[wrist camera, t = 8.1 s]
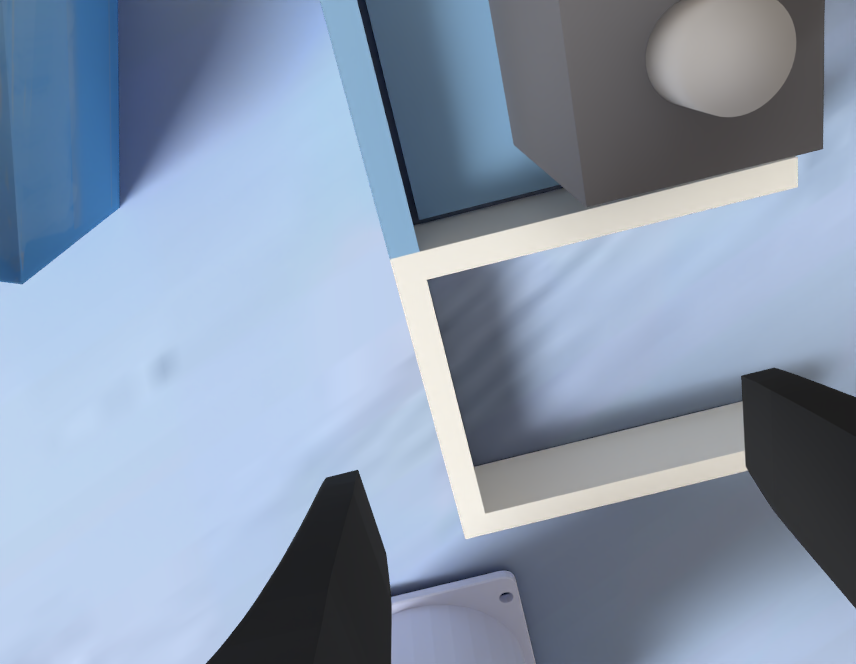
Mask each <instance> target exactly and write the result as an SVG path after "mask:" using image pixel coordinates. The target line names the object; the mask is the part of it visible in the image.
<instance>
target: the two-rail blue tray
mask: <svg viewBox="0 0 856 664" xmlns="http://www.w3.org/2000/svg"><path fill="white" fill-rule="evenodd" d="M365 1H366V5H367V9H368V14H369V18H370V22H371V26H372V30H373V34H374V38H375V42H376V46H377V50H378V54H379V58H380V62H381V67H382V71H383V75H384V79H385V83H386V87H387V91H388V95H389V99H390V103H391V107H392V111H393V116H394V120H395V124H396V128H397V132H398V136H399V140H400V144H401V148H402V152H403V156H404V160H405V164H406V169H407V173H408V177H409V181H410V185H411V189H412V193H413V197H414V201H415V205H416V209H417V213H418V217H419V220H422V219H426V218H430V217H434V216H438V215H442V214H446V213H450V212H454V211H458V210H462V209H466V208H469V207H473V206H477V205H481V204H485V203H489V202H493V201H497V200H501V199H505V198H509V197H513V196H517V195H521V194H525V193H529V192H533V191H537V190H541V189H545V188H549V187H553V186H557V185H560V184H559V183H557V182H556V181H555V180H554V179H553V178H552V177H551V176H549V175H548V174H547V173H546V172H545V171H544V170H542V169H541V168H540V167H539V166H538V165H537V164H535V163H534V162H533V161H532V160H531V159H530V158H528V157H527V156H526V155H525V154H524V153H523V152H521V151H520V150H519V149H518V148H517V147H516V146H514V144H513V139H512V133H511V127H510V121H509V116H508V110H507V104H506V98H505V93H504V87H503V81H502V76H501V70H500V64H499V58H498V53H497V47H496V41H495V35H494V30H493V24H492V18H491V12H490V7H489V1H488V0H365ZM320 3H321V6H322V10H323V14H324V17H325V21H326V25H327V29H328V32H329V36H330V40H331V43H332V47H333V51H334V54H335V58H336V62H337V66H338V69H339V73H340V77H341V80H342V84H343V88H344V91H345V95H346V99H347V103H348V106H349V110H350V114H351V117H352V121H353V125H354V128H355V132H356V136H357V140H358V143H359V147H360V151H361V154H362V158H363V162H364V166H365V169H366V173H367V177H368V180H369V184H370V188H371V191H372V195H373V199H374V203H375V206H376V210H377V214H378V217H379V221H380V225H381V228H382V232H383V236H384V240H385V243H386V247H387V251H388V254H389V258H390V262H391V265H392V269H393V273H394V277H395V280H396V284H397V288H398V291H399V295H400V299H401V302H402V306H403V310H404V314H405V317H406V321H407V325H408V328H409V332H410V336H411V339H412V343H413V347H414V351H415V354H416V358H417V362H418V365H419V369H420V373H421V376H422V380H423V384H424V388H425V391H426V395H427V399H428V402H429V406H430V410H431V413H432V417H433V421H434V425H435V428H436V432H437V436H438V439H439V443H440V447H441V451H442V454H443V458H444V462H445V465H446V469H447V473H448V476H449V480H450V484H451V488H452V491H453V495H454V499H455V502H456V506H457V510H458V513H459V517H460V521H461V525H462V528H463V532H464V536H465V539H469V538H473V537H477V536H481V535H485V534H489V533H493V532H497V531H502V530H506V529H510V528H514V527H518V526H522V525H526V524H530V523H535V522H539V521H543V520H547V519H551V518H555V517H559V516H563V515H567V514H572V513H576V512H580V511H584V510H588V509H592V508H596V507H600V506H605V505H609V504H613V503H617V502H621V501H625V500H629V499H633V498H637V497H642V496H646V495H650V494H654V493H658V492H662V491H666V490H670V489H675V488H679V487H683V486H687V485H691V484H695V483H699V482H703V481H708V480H712V479H716V478H720V477H724V476H728V475H732V474H736V473H740V472H745V471H748V469H747V468H746V464H745V443H744V422H743V401H741V402H737V403H733V404H729V405H725V406H721V407H717V408H713V409H708V410H704V411H700V412H696V413H692V414H688V415H684V416H680V417H676V418H672V419H668V420H663V421H659V422H655V423H651V424H647V425H643V426H639V427H635V428H631V429H627V430H623V431H618V432H614V433H610V434H606V435H602V436H598V437H594V438H590V439H586V440H582V441H578V442H574V443H569V444H565V445H561V446H557V447H553V448H549V449H545V450H541V451H537V452H533V453H529V454H524V455H520V456H516V457H512V458H508V459H504V460H500V461H496V462H492V463H488V464H484V465H480V466H475V467H474V466H473V462H472V458H471V454H470V450H469V446H468V442H467V438H466V434H465V430H464V426H463V422H462V418H461V414H460V410H459V406H458V402H457V398H456V394H455V390H454V386H453V382H452V378H451V374H450V370H449V366H448V362H447V358H446V354H445V350H444V346H443V342H442V338H441V334H440V330H439V326H438V322H437V318H436V314H435V310H434V306H433V302H432V298H431V294H430V290H429V286H428V282H427V280H428V279H432V278H436V277H440V276H444V275H448V274H452V273H456V272H460V271H464V270H468V269H472V268H476V267H480V266H484V265H488V264H492V263H496V262H500V261H504V260H508V259H512V258H516V257H520V256H524V255H528V254H532V253H536V252H540V251H544V250H548V249H552V248H556V247H560V246H564V245H568V244H572V243H576V242H580V241H584V240H588V239H592V238H596V237H600V236H604V235H608V234H612V233H616V232H620V231H624V230H628V229H632V228H636V227H640V226H644V225H648V224H652V223H656V222H660V221H664V220H668V219H672V218H676V217H680V216H684V215H688V214H692V213H696V212H700V211H704V210H708V209H712V208H716V207H720V206H724V205H728V204H732V203H736V202H740V201H744V200H748V199H752V198H756V197H760V196H764V195H768V194H772V193H776V192H780V191H784V190H788V189H792V188H796V187H798V157H796V156H793V157H789V158H785V159H780V160H776V161H772V162H768V163H764V164H760V165H756V166H752V167H748V168H744V169H740V170H736V171H732V172H728V173H724V174H720V175H716V176H712V177H708V178H704V179H700V180H696V181H692V182H688V183H684V184H680V185H676V186H672V187H667V188H663V189H659V190H655V191H651V192H647V193H643V194H639V195H635V196H631V197H627V198H623V199H619V200H615V201H611V202H607V203H603V204H599V205H595V206H591V207H585V206H584V205H583V204H582V203H581V202H580V201H578V200H577V199H576V198H575V197H574V196H573V195H571V194H570V193H569V192H568V191H567V190H566V189H564V188H561V189H557V190H553V191H549V192H545V193H541V194H537V195H533V196H529V197H525V198H521V199H517V200H513V201H509V202H505V203H501V204H497V205H493V206H489V207H485V208H481V209H477V210H473V211H469V212H465V213H461V214H458V215H454V216H450V217H446V218H442V219H438V220H434V221H430V222H426V223H422V224H418V225H414V226H413V222H412V218H411V214H410V210H409V206H408V202H407V198H406V194H405V190H404V186H403V182H402V178H401V174H400V170H399V166H398V162H397V158H396V154H395V150H394V146H393V142H392V138H391V134H390V130H389V126H388V122H387V118H386V114H385V110H384V106H383V102H382V98H381V94H380V90H379V86H378V82H377V78H376V74H375V70H374V66H373V62H372V58H371V54H370V50H369V46H368V42H367V38H366V34H365V30H364V26H363V22H362V18H361V14H360V10H359V6H358V2H357V0H320Z"/></svg>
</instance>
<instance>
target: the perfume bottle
mask: <svg viewBox="0 0 856 664" xmlns="http://www.w3.org/2000/svg"><path fill="white" fill-rule="evenodd" d="M118 208H120V179H119V67H118V0H0V282H8V283H16V284H23V283H25V282H26V281H27V280H28V279H30V278H31V277H32V276H34V275H35V274H36V273H37V272H39V271H40V270H41V269H42V268H44V267H45V266H46V265H47V264H49V263H50V262H51V261H53V260H54V259H55V258H56V257H58V256H59V255H60V254H61V253H63V252H64V251H65V250H66V249H68V248H69V247H70V246H72V245H73V244H74V243H75V242H77V241H78V240H79V239H80V238H82V237H83V236H84V235H85V234H87V233H88V232H89V231H91V230H92V229H93V228H94V227H96V226H97V225H98V224H99V223H101V222H102V221H103V220H104V219H106V218H107V217H108V216H109V215H111V214H112V213H113V212H115V211H116V210H117V209H118Z"/></svg>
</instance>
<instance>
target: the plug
mask: <svg viewBox="0 0 856 664" xmlns="http://www.w3.org/2000/svg"><path fill="white" fill-rule="evenodd" d="M488 1H489V7H490V12H491V18H492V24H493V30H494V35H495V41H496V47H497V53H498V58H499V64H500V70H501V76H502V81H503V87H504V93H505V98H506V104H507V110H508V116H509V121H510V127H511V133H512V139H513V144H514V146H516V147H517V148H518V149H519V150H520V151H521V152H523V153H524V154H525V155H526V156H527V157H528V158H530V159H531V160H532V161H533V162H534V163H535V164H537V165H538V166H539V167H540V168H541V169H542V170H544V171H545V172H546V173H547V174H548V175H549V176H551V177H552V178H553V179H554V180H555V181H556V182H557V183H559V184H560V185H561V186H562V187H563V188H564V189H566V190H567V191H568V192H569V193H570V194H571V195H573V196H574V197H575V198H576V199H577V200H578V201H580V202H581V203H582V204H583V205H584V206H585V207H591V206H595V205H599V204H603V203H607V202H611V201H615V200H619V199H623V198H627V197H631V196H635V195H639V194H643V193H647V192H651V191H655V190H659V189H663V188H667V187H672V186H676V185H680V184H684V183H688V182H692V181H696V180H700V179H704V178H708V177H712V176H716V175H720V174H724V173H728V172H732V171H736V170H740V169H744V168H748V167H752V166H756V165H760V164H764V163H768V162H772V161H776V160H780V159H785V158H789V157H793V156H797V155H801V154H805V153H809V152H813V151H817V150H821V149H823V97H824V5H825V0H488Z"/></svg>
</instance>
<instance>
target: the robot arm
mask: <svg viewBox="0 0 856 664" xmlns="http://www.w3.org/2000/svg"><path fill="white" fill-rule="evenodd" d="M741 380H742V401H743V422H744V443H745V464H746V468H747V469H748V471H749V473H750V474H751V476H752V478H753V479H754V481H755V482H756V484H757V486H758V487H759V489H760V491H761V492H762V494H763V495H764V497H765V498H766V500H767V501H768V503H769V504H770V506H771V507H772V509H773V510H774V512H775V513H776V514H777V516H778V517H779V518H780V519H781V521H782V522H783V523H784V524H785V525H786V527H787V528H788V529H789V530H790V531H791V533H792V534H793V535H794V536H795V537H796V539H797V540H798V541H799V542H800V543H801V545H802V546H803V547H804V548H805V549H806V550H807V552H808V553H809V554H810V555H811V556H812V557H813V559H814V560H815V561H816V562H817V563H818V565H819V566H820V567H821V568H822V569H823V570H824V572H825V573H826V574H827V575H828V576H829V577H830V579H831V580H832V581H833V582H834V583H835V585H836V586H837V587H838V588H839V589H840V590H841V592H842V593H843V594H844V595H845V596H846V597H847V599H848V600H849V601H850V602H851V603H852V605H853V606H854V607H855V608H856V397H854V396H851V395H848V394H846V393H843V392H840V391H838V390H835V389H833V388H830V387H827V386H825V385H822V384H819V383H817V382H814V381H811V380H809V379H806V378H803V377H801V376H798V375H795V374H792V373H789V372H786V371H783V370H780V369H777V368H771V369H767V370H763V371H759V372H755V373H751V374H747V375H743V376H741ZM505 592H509V593H508V594H506V595H501V594H502V593H505ZM206 664H536V662H535V658H534V654H533V650H532V645H531V641H530V637H529V633H528V629H527V624H526V620H525V616H524V612H523V608H522V603H521V599H520V595H519V591H518V587H517V583H516V579H515V576H514V575H513V574H512V573H511V572H509V571H505V570H504V571H497V572H493V573H489V574H485V575H480V576H476V577H472V578H468V579H464V580H460V581H456V582H452V583H447V584H443V585H439V586H435V587H431V588H427V589H423V590H418V591H414V592H410V593H406V594H402V595H398V596H394V597H391V592H390V582H389V574H388V565H387V556H386V552H385V549H384V546H383V543H382V540H381V537H380V534H379V531H378V528H377V525H376V522H375V519H374V516H373V513H372V510H371V507H370V504H369V501H368V498H367V495H366V492H365V489H364V486H363V483H362V480H361V477H360V474H359V471H358V470H356V471H351V472H347V473H343V474H339V475H335V476H331V477H327V478H326V479H325V480H324V482H323V483H322V485H321V487H320V489H319V491H318V493H317V495H316V497H315V499H314V501H313V503H312V505H311V507H310V509H309V511H308V513H307V515H306V517H305V518H304V520H303V522H302V524H301V526H300V528H299V530H298V532H297V533H296V535H295V537H294V539H293V541H292V542H291V544H290V546H289V548H288V549H287V551H286V553H285V555H284V557H283V558H282V560H281V562H280V563H279V565H278V567H277V568H276V570H275V571H274V573H273V574H272V576H271V578H270V579H269V581H268V582H267V584H266V585H265V587H264V589H263V590H262V592H261V593H260V595H259V596H258V598H257V599H256V601H255V602H254V604H253V605H252V607H251V608H250V610H249V611H248V612H247V614H246V615H245V617H244V618H243V619H242V621H241V622H240V623H239V625H238V626H237V627H236V628H235V630H234V631H233V632H232V634H231V635H230V636H229V637H228V639H227V640H226V641H225V642H224V644H223V645H222V646H221V647H220V648H219V650H218V651H217V652H216V653H215V654H214V655H213V656H212V657H211V659H210V660H209V661H208V662H207V663H206Z"/></svg>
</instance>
